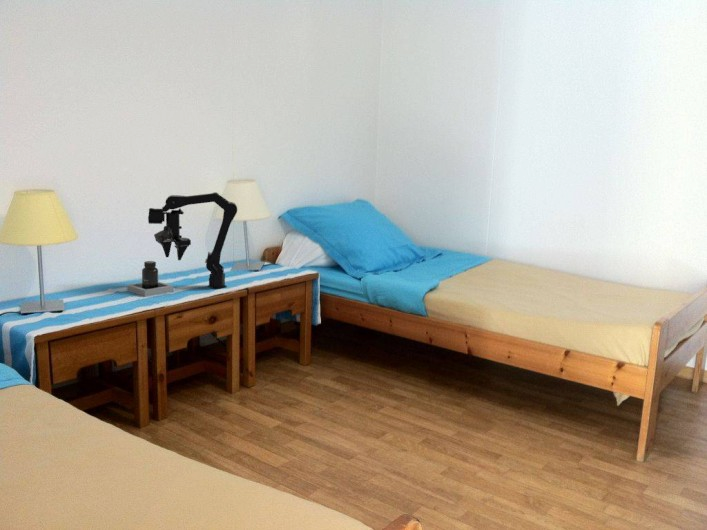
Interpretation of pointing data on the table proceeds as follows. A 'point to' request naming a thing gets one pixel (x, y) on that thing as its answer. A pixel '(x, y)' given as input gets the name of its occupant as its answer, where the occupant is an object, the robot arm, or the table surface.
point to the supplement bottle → (149, 275)
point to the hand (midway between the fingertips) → (173, 258)
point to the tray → (148, 292)
